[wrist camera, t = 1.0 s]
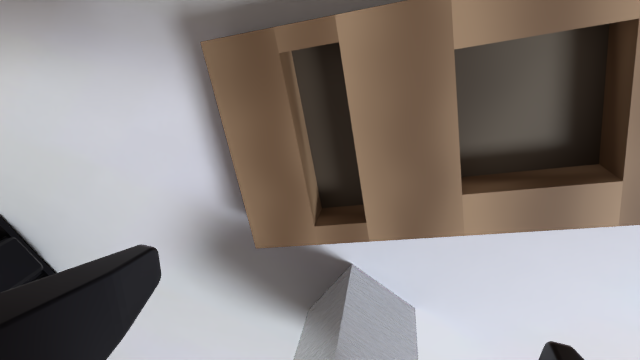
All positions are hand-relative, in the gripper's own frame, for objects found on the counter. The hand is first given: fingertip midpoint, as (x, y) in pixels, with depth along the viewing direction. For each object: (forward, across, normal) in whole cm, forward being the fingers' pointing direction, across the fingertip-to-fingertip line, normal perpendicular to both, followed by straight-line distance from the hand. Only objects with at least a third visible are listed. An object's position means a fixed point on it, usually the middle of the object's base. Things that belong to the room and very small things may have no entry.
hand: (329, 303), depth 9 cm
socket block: (+12, -2, -2) cm, 12 cm away
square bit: (+11, 0, +10) cm, 15 cm away
